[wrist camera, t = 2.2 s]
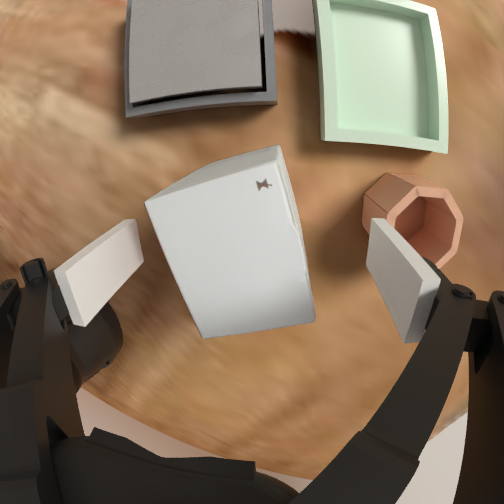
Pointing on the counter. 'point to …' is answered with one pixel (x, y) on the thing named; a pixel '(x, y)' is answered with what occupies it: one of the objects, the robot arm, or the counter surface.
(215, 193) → the small box
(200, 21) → the grey flat square panel
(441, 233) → the cup
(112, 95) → the counter surface
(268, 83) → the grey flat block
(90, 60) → the counter surface
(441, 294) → the robot arm
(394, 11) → the mint green tray
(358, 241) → the counter surface
